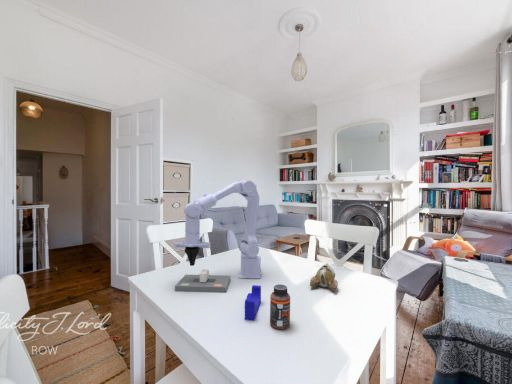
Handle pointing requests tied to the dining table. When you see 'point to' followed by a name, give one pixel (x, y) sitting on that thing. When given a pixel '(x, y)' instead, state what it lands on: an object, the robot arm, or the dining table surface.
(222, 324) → the dining table surface
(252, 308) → the blue stepped block
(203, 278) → the knob
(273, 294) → the supplement bottle
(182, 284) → the switch panel
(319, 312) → the dining table surface
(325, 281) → the ceramic sculpture
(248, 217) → the robot arm
